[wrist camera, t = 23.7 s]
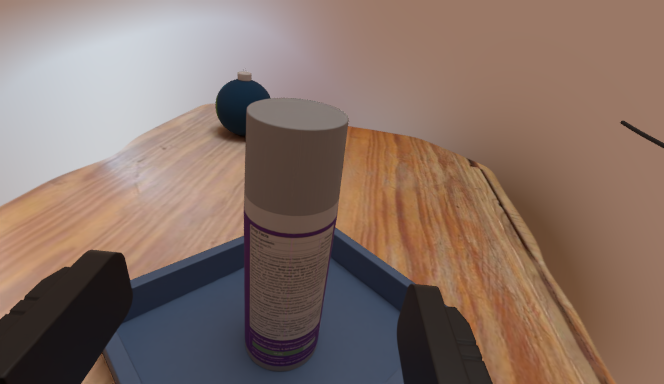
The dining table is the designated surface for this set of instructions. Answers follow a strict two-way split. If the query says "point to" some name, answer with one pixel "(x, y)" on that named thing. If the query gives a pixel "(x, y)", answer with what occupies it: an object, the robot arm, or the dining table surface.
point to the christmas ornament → (238, 102)
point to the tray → (229, 323)
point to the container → (289, 224)
